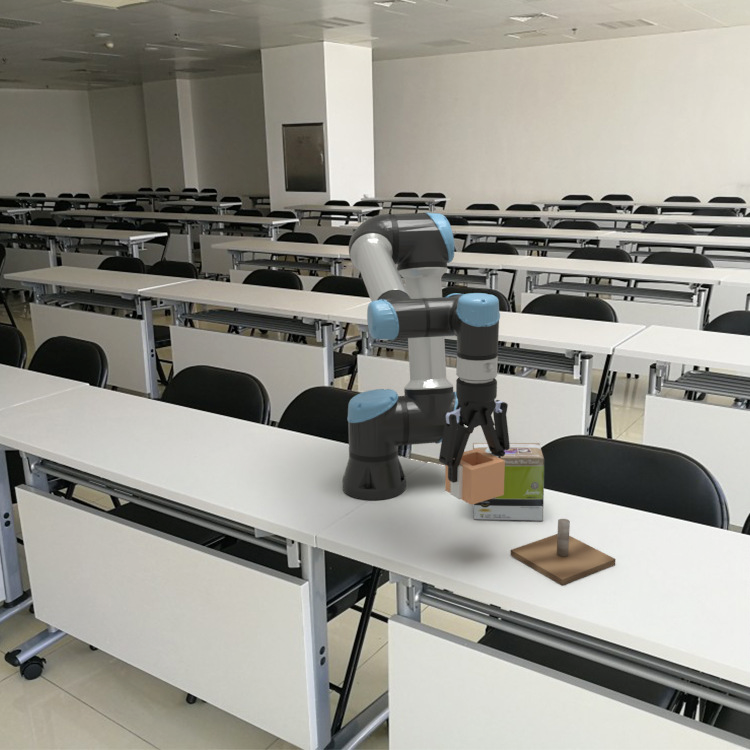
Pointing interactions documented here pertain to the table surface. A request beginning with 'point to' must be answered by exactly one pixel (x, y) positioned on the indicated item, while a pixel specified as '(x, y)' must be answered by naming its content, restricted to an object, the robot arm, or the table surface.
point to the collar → (480, 476)
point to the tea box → (517, 485)
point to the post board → (562, 556)
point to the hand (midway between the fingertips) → (474, 490)
